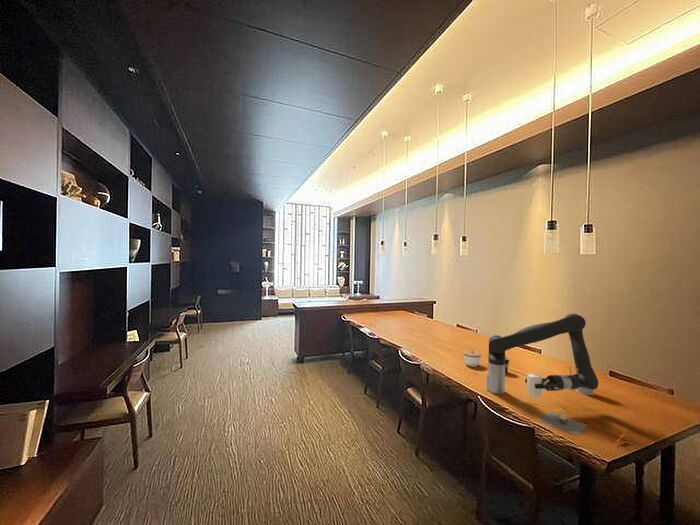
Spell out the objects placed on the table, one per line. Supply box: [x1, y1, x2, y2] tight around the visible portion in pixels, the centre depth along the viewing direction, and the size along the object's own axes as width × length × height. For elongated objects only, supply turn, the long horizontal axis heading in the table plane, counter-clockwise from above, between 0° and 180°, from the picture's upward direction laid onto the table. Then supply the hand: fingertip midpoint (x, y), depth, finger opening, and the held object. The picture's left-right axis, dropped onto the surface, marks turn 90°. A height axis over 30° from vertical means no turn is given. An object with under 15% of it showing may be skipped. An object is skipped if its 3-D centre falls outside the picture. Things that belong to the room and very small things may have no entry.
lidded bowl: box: [463, 350, 482, 368], centre depth 238 cm, size 13×13×11 cm
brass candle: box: [559, 411, 568, 424], centre depth 152 cm, size 3×3×5 cm
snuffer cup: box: [526, 373, 543, 398], centre depth 164 cm, size 6×6×10 cm
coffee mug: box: [505, 356, 510, 374], centre depth 224 cm, size 12×9×10 cm
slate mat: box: [538, 411, 588, 436], centre depth 152 cm, size 16×15×1 cm
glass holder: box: [569, 365, 595, 396], centre depth 192 cm, size 9×14×15 cm, turn 15°
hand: (530, 383), depth 164 cm, fingers closed on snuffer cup, 6 cm apart
